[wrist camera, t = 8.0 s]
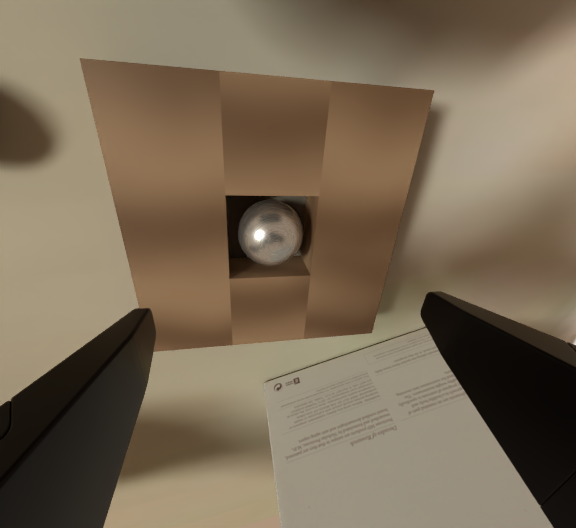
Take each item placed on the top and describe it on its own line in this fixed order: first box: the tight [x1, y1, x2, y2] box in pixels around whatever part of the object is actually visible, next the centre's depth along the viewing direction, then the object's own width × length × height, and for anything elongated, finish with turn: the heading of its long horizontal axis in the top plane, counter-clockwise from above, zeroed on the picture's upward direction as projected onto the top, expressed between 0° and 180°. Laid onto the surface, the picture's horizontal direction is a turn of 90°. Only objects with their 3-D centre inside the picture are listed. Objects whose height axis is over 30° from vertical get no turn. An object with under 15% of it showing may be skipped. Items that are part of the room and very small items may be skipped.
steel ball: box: [238, 200, 303, 266], centre depth 15 cm, size 4×4×4 cm
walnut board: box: [80, 58, 434, 352], centre depth 15 cm, size 14×14×2 cm
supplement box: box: [264, 328, 553, 528], centre depth 18 cm, size 17×13×18 cm
